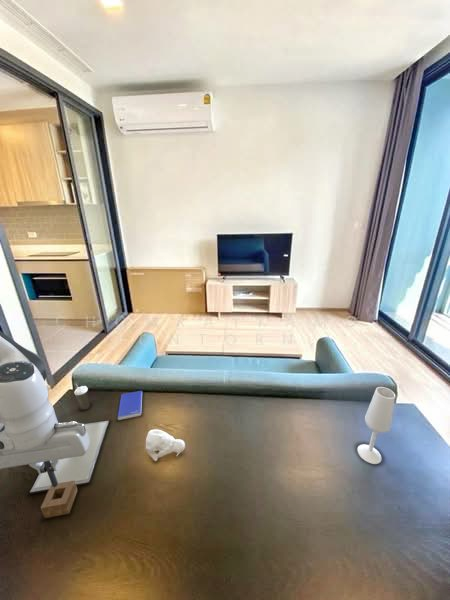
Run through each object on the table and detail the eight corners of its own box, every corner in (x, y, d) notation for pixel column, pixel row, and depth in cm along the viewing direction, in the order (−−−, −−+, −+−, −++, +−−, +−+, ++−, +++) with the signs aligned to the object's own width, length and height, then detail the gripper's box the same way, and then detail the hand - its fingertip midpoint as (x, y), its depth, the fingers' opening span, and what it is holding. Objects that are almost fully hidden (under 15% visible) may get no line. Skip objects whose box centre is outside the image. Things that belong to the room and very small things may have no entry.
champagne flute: (385, 455, 78) (403, 393, 70) (376, 468, 74) (394, 405, 66) (363, 440, 83) (377, 381, 75) (353, 452, 79) (367, 391, 71)
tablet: (30, 494, 68) (29, 491, 68) (64, 428, 89) (63, 426, 88) (89, 484, 71) (88, 481, 70) (109, 422, 91) (108, 420, 91)
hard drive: (140, 412, 93) (141, 390, 105) (117, 417, 91) (121, 394, 103) (141, 415, 94) (142, 393, 105) (118, 420, 92) (121, 397, 103)
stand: (44, 518, 63) (40, 508, 62) (55, 494, 68) (51, 484, 67) (69, 513, 64) (65, 503, 63) (77, 490, 69) (74, 480, 68)
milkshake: (87, 400, 102) (82, 380, 98) (94, 406, 99) (88, 385, 95) (75, 407, 98) (69, 386, 95) (82, 413, 95) (76, 392, 92)
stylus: (51, 487, 63) (36, 447, 58) (53, 482, 64) (39, 443, 59) (56, 487, 63) (42, 446, 58) (59, 482, 64) (44, 442, 59)
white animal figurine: (148, 424, 79) (186, 425, 80) (149, 443, 82) (185, 444, 83) (143, 441, 73) (184, 442, 74) (144, 462, 76) (183, 463, 77)
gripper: (87, 410, 61) (98, 451, 66) (-7, 423, 58) (12, 464, 63) (77, 431, 56) (90, 474, 60) (-27, 447, 52) (-5, 490, 57)
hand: (49, 469), depth 62 cm, fingers closed on stylus, 1 cm apart
